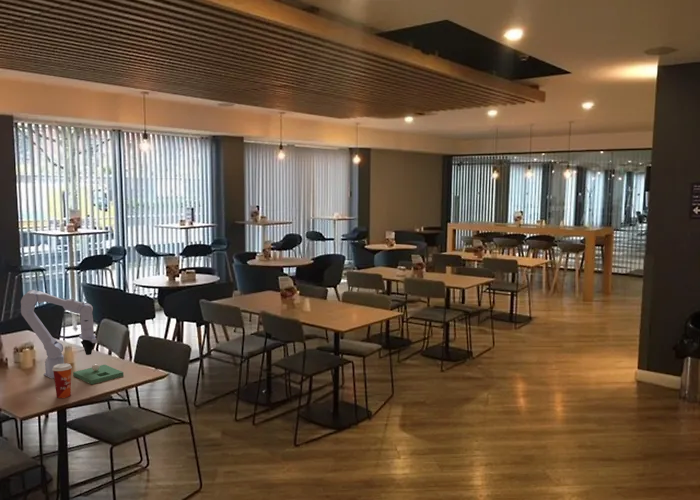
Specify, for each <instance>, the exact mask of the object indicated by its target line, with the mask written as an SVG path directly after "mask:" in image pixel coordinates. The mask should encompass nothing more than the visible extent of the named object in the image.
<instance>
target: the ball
mask: <svg viewBox="0 0 700 500" xmlns="http://www.w3.org/2000/svg"><path fill="white" fill-rule="evenodd" d="M99 366H100V365H99V364H98V363H95V364H93V365H92V366H91V368H92V370H93V371H98V370H99V368H100V367H99Z"/></svg>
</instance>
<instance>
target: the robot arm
mask: <svg viewBox="0 0 700 500" xmlns="http://www.w3.org/2000/svg"><path fill="white" fill-rule="evenodd" d="M45 302H46V303H48V304H54V305H57V306H61V307H62V308H63V309H64V310H65V311H68V312H72V313H75V314H79V315H80V334H79V335H78V337H79V339H81V341H80V344H81V345H82V347H83V349H84V353H85V355H86V356H91V355H92V354H93V353H92V352H93V348H94V345H95V343H97V341H98V340H97V338H96V337H97V335H96V334H94V331H95V328H94V318H93V317H94V316H93V309H94V308H93V307H94V306H92V304H90V303H89V302H84V301H82V302H81V301H78V300H75V298H73V297H72V298H67V299H64V298H60V297H58V296H55V295H52V294H50V293H47V292H44V291H40V290H37V289H30V290H27V291H26V293H24V295H23V296H22V297H21V300H20V315H21V316H22V317H23V319H24V320H25V322H27V324H28V326H29V327H30V329H32V331H33V333H35V334H36V336H37V338H38V339H39V340H40V342H41V343H42V345H43V348H44V350H45V353H46V356H47V358H46V359H45V360H44V363H45V364H44V368H45V373H43V375H44V376H45V377H47V378H49V379H54V372H53V370H52V369H53V367H54V366H55V365H57V364H63V363H65V360H64V359H65V358H64V355H63V353H62V352H63V351H64V345H63V344H62V343H61V342H59V341H58V340H57V339H56V338H54V337H53V336H52V335H51V332H49V330H48V329H47V327H46V326H45V325H44V324H43V322H42V320H41V319H40V318H39V316H38V315H37V314H36V312H35V308H36V305H37V304H42V303H45Z"/></svg>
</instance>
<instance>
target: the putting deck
mask: <svg viewBox="0 0 700 500" xmlns="http://www.w3.org/2000/svg"><path fill="white" fill-rule="evenodd" d="M99 367H100V368H99V370H98V371H93V370H92V367H89V368H84V369H79V370H77V371H73V372H72V373H73V375H72V376H73V377H74V378H77V379H79V380H81V381H83V382H85V383H88V384H90V385H94V384H98V383H102V382H105V381H110V380H114V379H117V378H122V377H124V371H122V370H119V369H117V368H114V367H112V366H109V365H107V364H101V365H99Z"/></svg>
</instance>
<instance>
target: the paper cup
mask: <svg viewBox="0 0 700 500" xmlns="http://www.w3.org/2000/svg"><path fill="white" fill-rule="evenodd" d="M72 367H73V366H72V365H71V364H70V363H67V362H64V363H63V364H57V365H55V366H54V367H53V369H52V370H53V372H54V378H53V379H54V385H55V386H54V387H55V395H56V398H58V399H65V398H68V397H71V393H72V392H71V391H72Z"/></svg>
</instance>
